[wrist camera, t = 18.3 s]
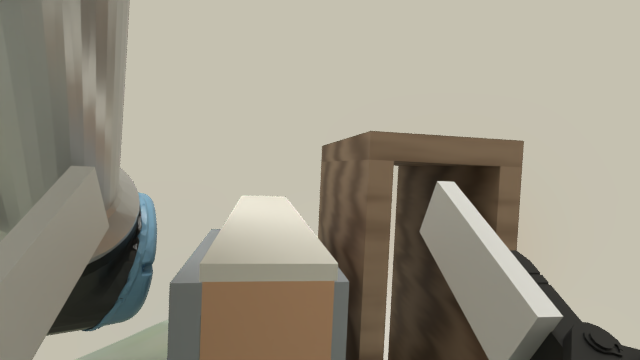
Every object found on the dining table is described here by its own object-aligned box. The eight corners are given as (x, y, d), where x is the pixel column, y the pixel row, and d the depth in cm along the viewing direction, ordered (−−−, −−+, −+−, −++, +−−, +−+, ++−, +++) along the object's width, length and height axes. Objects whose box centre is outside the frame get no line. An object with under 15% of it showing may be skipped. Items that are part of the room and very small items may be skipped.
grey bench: (335, 549, 24) (349, 281, 23) (160, 573, 22) (169, 283, 21) (303, 384, 41) (310, 230, 41) (206, 389, 39) (211, 229, 39)
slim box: (332, 376, 12) (338, 263, 12) (195, 383, 12) (199, 263, 12) (284, 233, 38) (285, 196, 38) (240, 233, 37) (241, 195, 37)
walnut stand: (499, 499, 28) (523, 140, 27) (351, 517, 26) (370, 131, 25) (400, 360, 47) (412, 151, 46) (312, 364, 45) (322, 145, 44)
